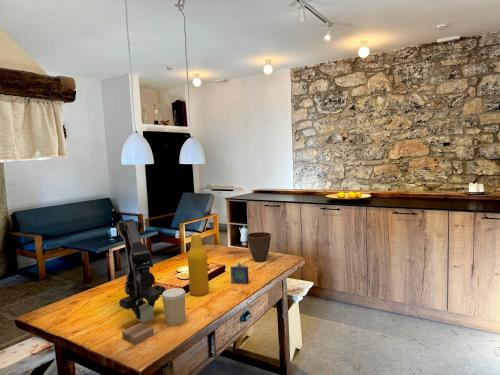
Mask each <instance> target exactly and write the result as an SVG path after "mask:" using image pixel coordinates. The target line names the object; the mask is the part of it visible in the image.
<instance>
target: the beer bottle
mask: <svg viewBox="0 0 500 375" xmlns="http://www.w3.org/2000/svg"><path fill="white" fill-rule="evenodd" d="M202 242H203V241H202V236H201V233H199V232H194V233H192V234H191V238H190V248H189V250H188V254H187V267H188V268H187V269H188V282H189V283H188V284H189V293H190V295H191V296H194V297H201V296H205V295H207V294H208V293H209V292H210V290H209V289H210V286H209V273H208V272H209V271H208V255H207V253H206V249H205V248H204V246H203V243H202Z"/></svg>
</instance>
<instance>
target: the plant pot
mask: <svg viewBox="0 0 500 375" xmlns="http://www.w3.org/2000/svg"><path fill="white" fill-rule="evenodd" d="M271 238H272V234H271V233H270V232H267V231H266V232H265V231H262V232H261V231H257V232H251V233H248V234H247V235H246V239H247V244H248V248H249V251H250V253H251V256H252V259H253V261H254V262H256V263H263V262H265V261H267V258H268V255H269V251H270V248H271V247H270V246H271V240H272V239H271Z"/></svg>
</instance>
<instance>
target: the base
mask: <svg viewBox="0 0 500 375" xmlns="http://www.w3.org/2000/svg"><path fill="white" fill-rule="evenodd" d="M154 334H155V332H154V327H151V326H149V325H147V324H144V323H143V322H139V323H137V324H134V325H133V326H131V327H129V328H126V329H125V330H122V331H121V336H122V339H124V340H126V341H127V342H128V343H131V344H133V345H134V346H136V345H138V344H140V343H141V342H143V341H145V340H147V339H149V338H151V337H153V336H155V335H154Z"/></svg>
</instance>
